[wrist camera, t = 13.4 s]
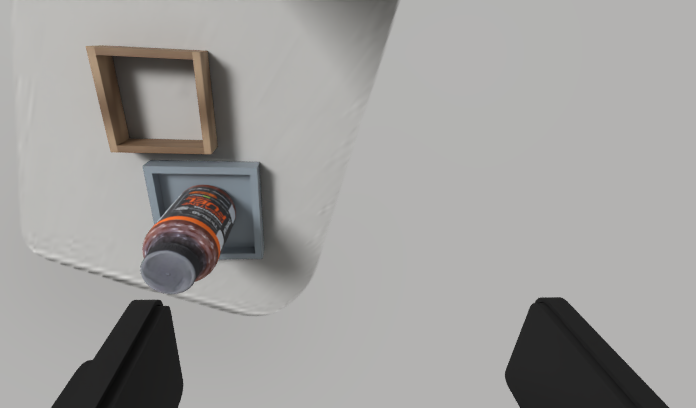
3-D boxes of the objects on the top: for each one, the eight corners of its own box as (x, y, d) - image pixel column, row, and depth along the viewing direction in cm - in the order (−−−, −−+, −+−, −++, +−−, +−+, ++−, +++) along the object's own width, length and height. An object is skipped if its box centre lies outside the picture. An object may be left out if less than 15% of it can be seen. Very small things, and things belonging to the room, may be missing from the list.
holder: (102, 45, 30) (85, 46, 28) (207, 51, 31) (199, 52, 29) (124, 144, 34) (110, 152, 31) (217, 146, 35) (211, 154, 32)
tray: (150, 160, 35) (142, 166, 33) (259, 162, 36) (256, 167, 34) (167, 250, 39) (161, 259, 37) (264, 249, 40) (262, 258, 38)
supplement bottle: (243, 192, 36) (218, 252, 26) (230, 239, 39) (201, 312, 28) (183, 174, 35) (131, 230, 25) (172, 225, 37) (121, 296, 27)
